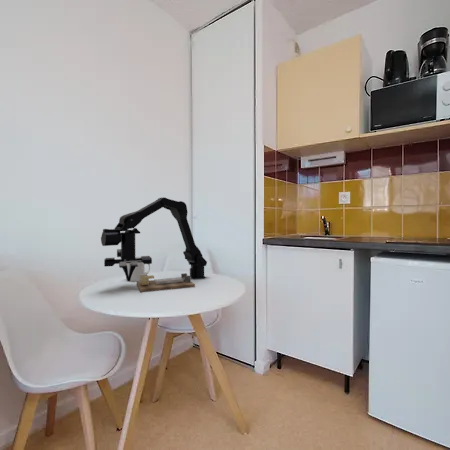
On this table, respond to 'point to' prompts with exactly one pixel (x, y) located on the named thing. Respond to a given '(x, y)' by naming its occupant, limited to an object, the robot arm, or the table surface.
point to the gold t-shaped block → (145, 279)
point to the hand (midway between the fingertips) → (128, 281)
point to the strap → (169, 280)
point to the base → (166, 285)
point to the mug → (137, 271)
